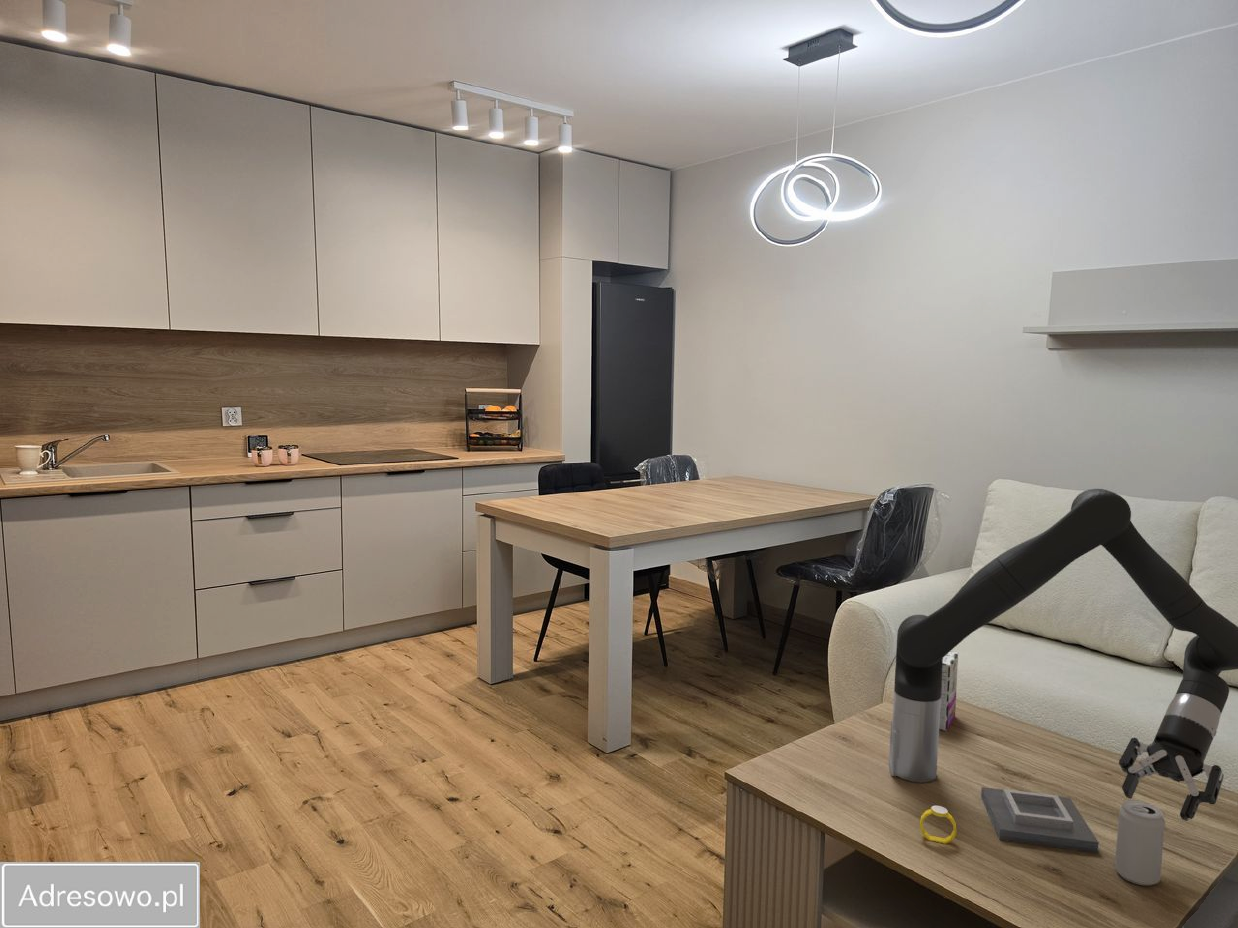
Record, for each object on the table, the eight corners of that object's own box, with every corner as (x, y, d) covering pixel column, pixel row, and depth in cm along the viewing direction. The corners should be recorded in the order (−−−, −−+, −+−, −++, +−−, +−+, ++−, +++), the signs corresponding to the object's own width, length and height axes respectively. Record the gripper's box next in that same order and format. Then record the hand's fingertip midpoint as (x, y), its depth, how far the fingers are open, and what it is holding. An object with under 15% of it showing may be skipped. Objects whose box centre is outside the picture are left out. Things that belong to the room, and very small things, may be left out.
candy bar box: (934, 711, 203) (938, 648, 202) (955, 716, 201) (959, 652, 199) (925, 726, 194) (928, 660, 192) (947, 732, 191) (951, 664, 190)
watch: (953, 841, 145) (958, 810, 144) (954, 849, 143) (959, 817, 142) (918, 831, 147) (922, 801, 146) (918, 839, 145) (922, 808, 144)
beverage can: (1166, 890, 131) (1173, 820, 130) (1123, 885, 133) (1129, 815, 131) (1149, 868, 137) (1155, 800, 136) (1108, 863, 139) (1113, 796, 138)
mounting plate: (999, 839, 145) (1000, 820, 145) (980, 796, 161) (982, 779, 160) (1097, 853, 142) (1099, 833, 141) (1069, 807, 157) (1070, 789, 157)
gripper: (1138, 701, 146) (1103, 778, 141) (1232, 729, 135) (1198, 815, 129) (1149, 723, 150) (1115, 799, 144) (1241, 752, 138) (1208, 836, 133)
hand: (1154, 806), depth 137 cm, fingers open, 8 cm apart
